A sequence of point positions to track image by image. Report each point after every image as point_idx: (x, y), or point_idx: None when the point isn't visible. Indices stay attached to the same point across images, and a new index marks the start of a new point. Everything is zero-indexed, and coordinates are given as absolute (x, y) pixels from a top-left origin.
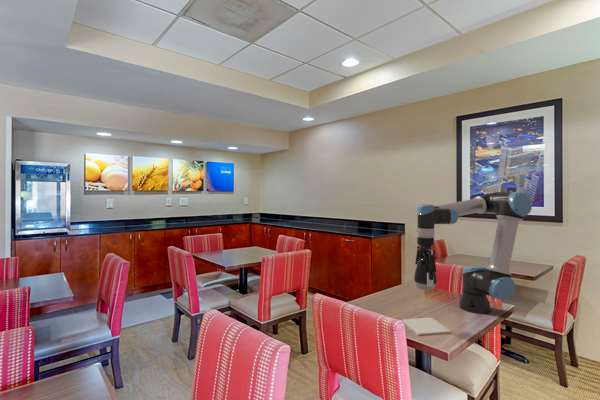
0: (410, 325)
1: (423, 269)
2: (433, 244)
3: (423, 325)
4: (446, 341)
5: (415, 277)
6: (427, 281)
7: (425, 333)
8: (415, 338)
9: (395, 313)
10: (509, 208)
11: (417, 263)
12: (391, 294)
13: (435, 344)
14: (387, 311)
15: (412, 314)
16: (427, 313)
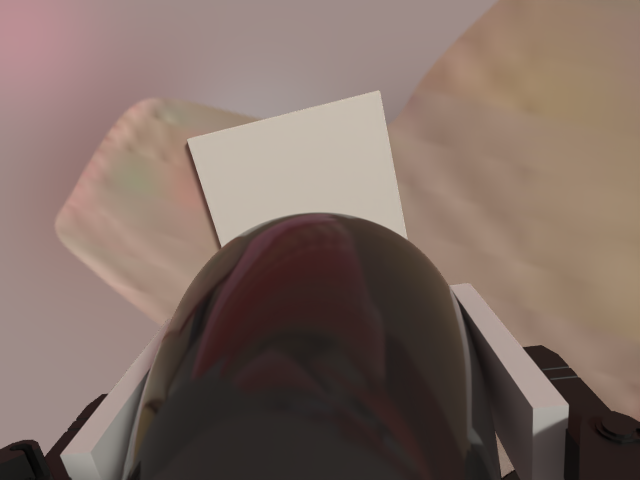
0: (292, 125)
1: (132, 440)
2: None
3: (299, 200)
4: (148, 257)
5: (276, 237)
6: (151, 352)
7: (201, 182)
8: (152, 116)
9: (508, 77)
10: None
11: (635, 472)
12: None
13: (106, 198)
14: (548, 25)
15: (485, 186)
16: (496, 276)
